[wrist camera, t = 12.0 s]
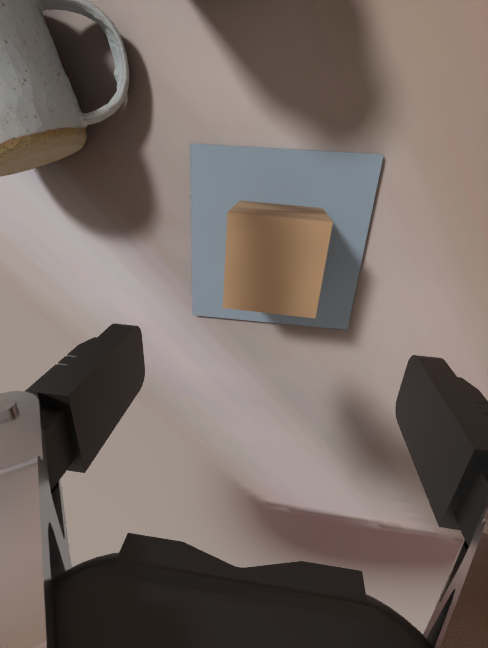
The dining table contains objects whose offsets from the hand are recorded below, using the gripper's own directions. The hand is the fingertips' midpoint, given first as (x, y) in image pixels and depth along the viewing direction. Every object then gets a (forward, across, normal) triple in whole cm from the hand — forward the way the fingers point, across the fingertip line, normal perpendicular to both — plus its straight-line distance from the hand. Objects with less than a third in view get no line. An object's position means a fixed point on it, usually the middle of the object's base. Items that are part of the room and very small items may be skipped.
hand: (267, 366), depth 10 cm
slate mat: (+16, 0, 0) cm, 16 cm away
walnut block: (+15, 0, 0) cm, 15 cm away
